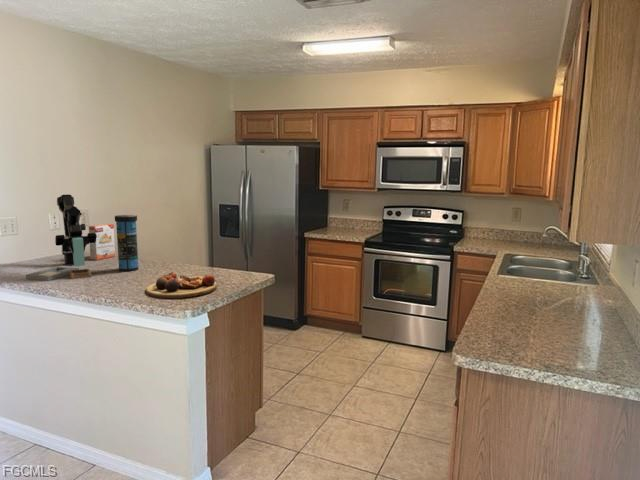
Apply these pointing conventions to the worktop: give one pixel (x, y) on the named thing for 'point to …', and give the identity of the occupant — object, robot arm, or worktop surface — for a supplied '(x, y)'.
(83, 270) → the cubby
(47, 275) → the board
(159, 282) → the wooden plate with food
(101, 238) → the cracker box
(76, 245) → the post
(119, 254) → the advertising column
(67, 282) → the worktop surface
